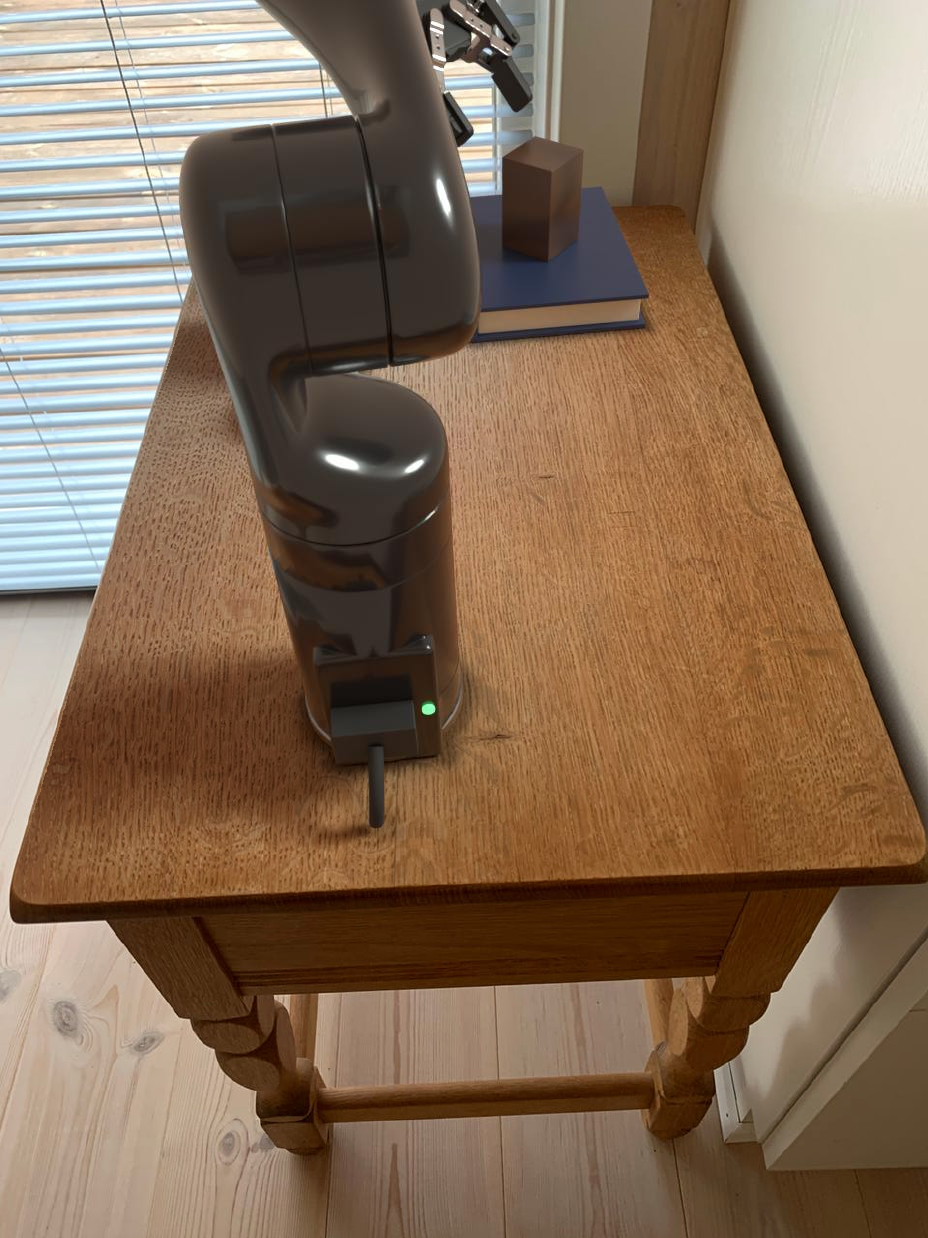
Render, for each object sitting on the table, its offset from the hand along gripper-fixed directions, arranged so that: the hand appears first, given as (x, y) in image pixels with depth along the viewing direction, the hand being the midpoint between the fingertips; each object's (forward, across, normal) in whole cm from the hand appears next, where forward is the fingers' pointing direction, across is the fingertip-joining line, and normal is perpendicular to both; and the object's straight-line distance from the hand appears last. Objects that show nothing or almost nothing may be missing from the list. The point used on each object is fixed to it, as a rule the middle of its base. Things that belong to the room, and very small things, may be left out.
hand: (496, 122), depth 84 cm
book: (+12, 0, +6) cm, 14 cm away
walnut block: (+10, 0, +4) cm, 11 cm away
